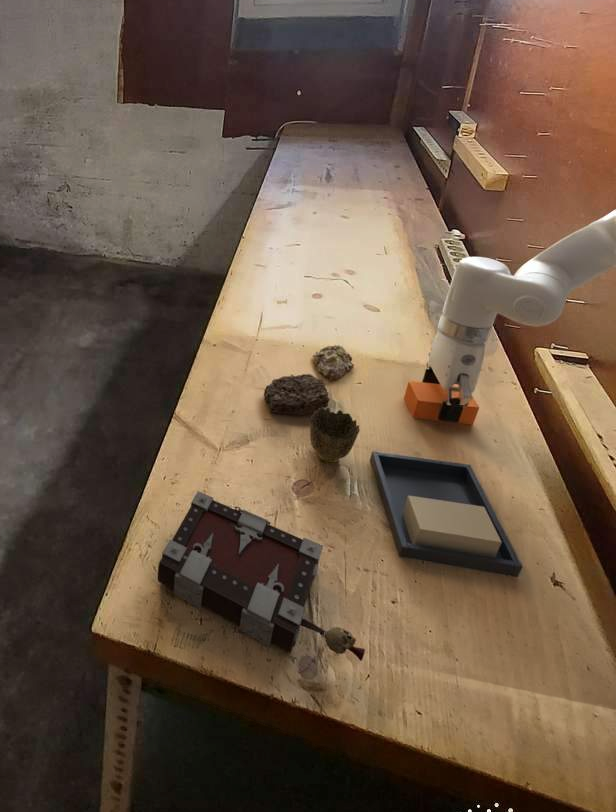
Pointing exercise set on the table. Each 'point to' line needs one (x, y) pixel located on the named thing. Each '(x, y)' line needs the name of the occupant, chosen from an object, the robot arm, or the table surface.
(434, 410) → the orange rectangular block
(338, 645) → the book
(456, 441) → the table surface
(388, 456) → the tray
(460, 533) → the beige block
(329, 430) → the cup
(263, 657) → the table surface
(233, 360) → the table surface
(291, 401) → the dark brown rough stone
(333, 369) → the mineral rock
